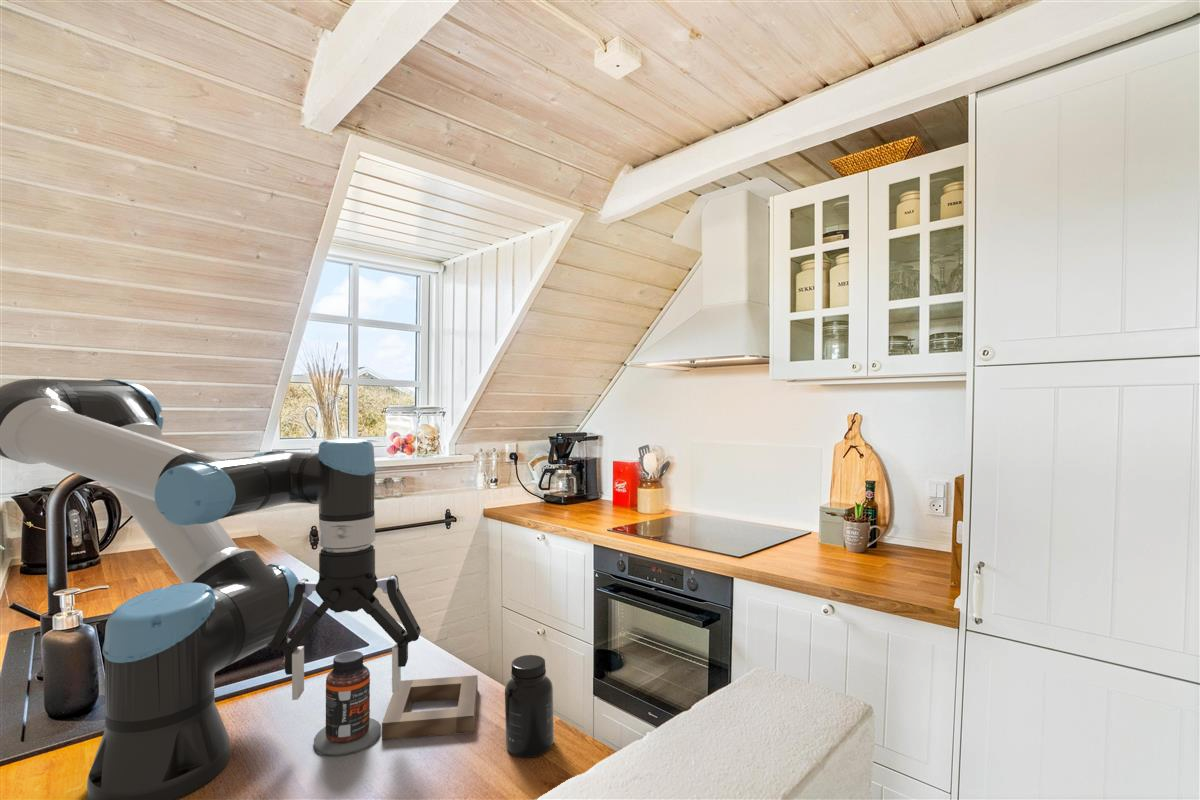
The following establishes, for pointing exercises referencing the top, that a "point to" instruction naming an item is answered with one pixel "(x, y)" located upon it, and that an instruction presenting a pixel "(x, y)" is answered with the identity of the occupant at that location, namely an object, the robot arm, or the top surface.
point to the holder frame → (433, 721)
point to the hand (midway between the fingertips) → (347, 691)
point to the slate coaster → (340, 749)
